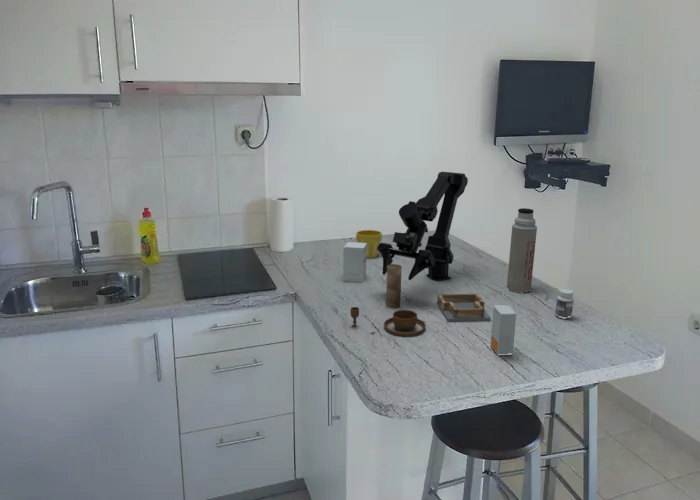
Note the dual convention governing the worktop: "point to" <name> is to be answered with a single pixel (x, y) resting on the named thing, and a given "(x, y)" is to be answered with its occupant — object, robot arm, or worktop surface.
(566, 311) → the pill bottle
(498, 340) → the skincare box
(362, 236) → the plant pot
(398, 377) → the worktop surface
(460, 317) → the keyhole plate
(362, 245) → the supplement box
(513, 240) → the thermos bottle
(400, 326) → the place setting
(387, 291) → the walnut peg
